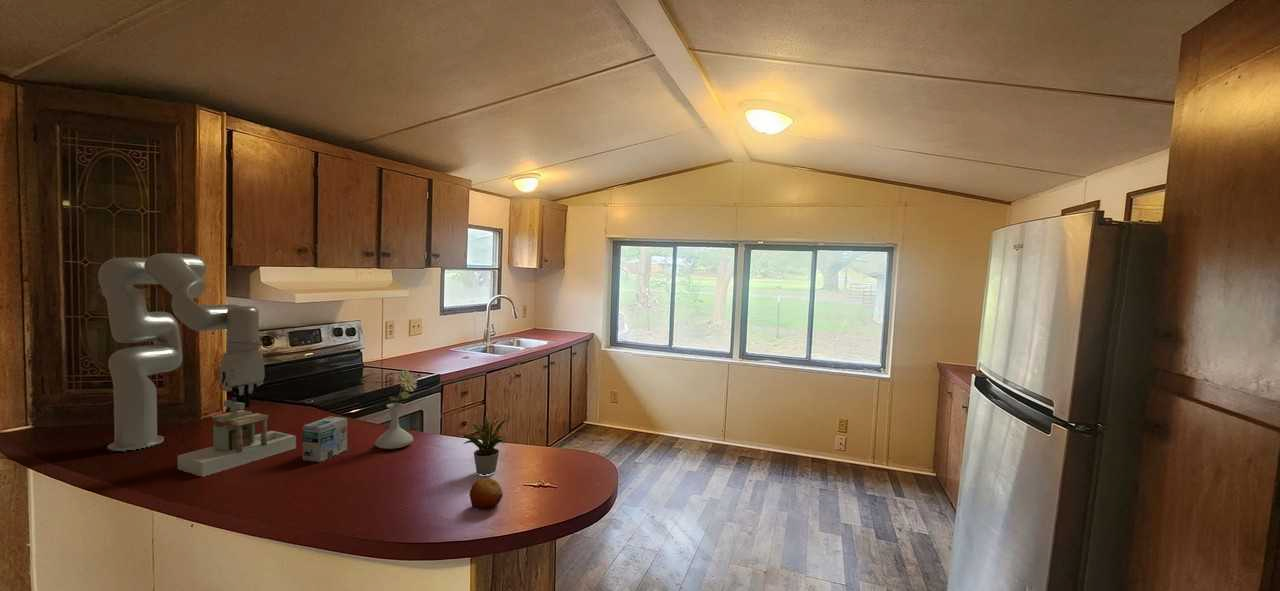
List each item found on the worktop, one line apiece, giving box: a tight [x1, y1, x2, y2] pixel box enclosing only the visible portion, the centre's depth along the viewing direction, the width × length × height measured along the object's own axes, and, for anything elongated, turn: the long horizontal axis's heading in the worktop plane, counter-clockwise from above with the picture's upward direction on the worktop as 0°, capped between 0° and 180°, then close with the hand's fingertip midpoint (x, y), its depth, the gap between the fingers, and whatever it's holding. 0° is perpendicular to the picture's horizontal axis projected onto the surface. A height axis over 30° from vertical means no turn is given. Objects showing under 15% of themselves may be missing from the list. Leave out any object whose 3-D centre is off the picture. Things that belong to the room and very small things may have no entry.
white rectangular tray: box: [177, 430, 297, 478], centre depth 148 cm, size 12×25×4 cm, turn 158°
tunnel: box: [211, 409, 269, 452], centre depth 148 cm, size 13×8×9 cm, turn 68°
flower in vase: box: [374, 369, 418, 450], centre depth 162 cm, size 13×11×25 cm
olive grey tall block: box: [212, 399, 256, 451], centre depth 146 cm, size 8×7×13 cm
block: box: [229, 427, 251, 450], centre depth 147 cm, size 5×5×5 cm
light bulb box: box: [302, 415, 348, 463], centre depth 152 cm, size 11×7×11 cm, turn 168°
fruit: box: [469, 477, 503, 511], centre depth 122 cm, size 8×8×8 cm
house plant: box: [459, 416, 511, 475], centre depth 143 cm, size 14×14×16 cm
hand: (243, 406), depth 148 cm, fingers closed
